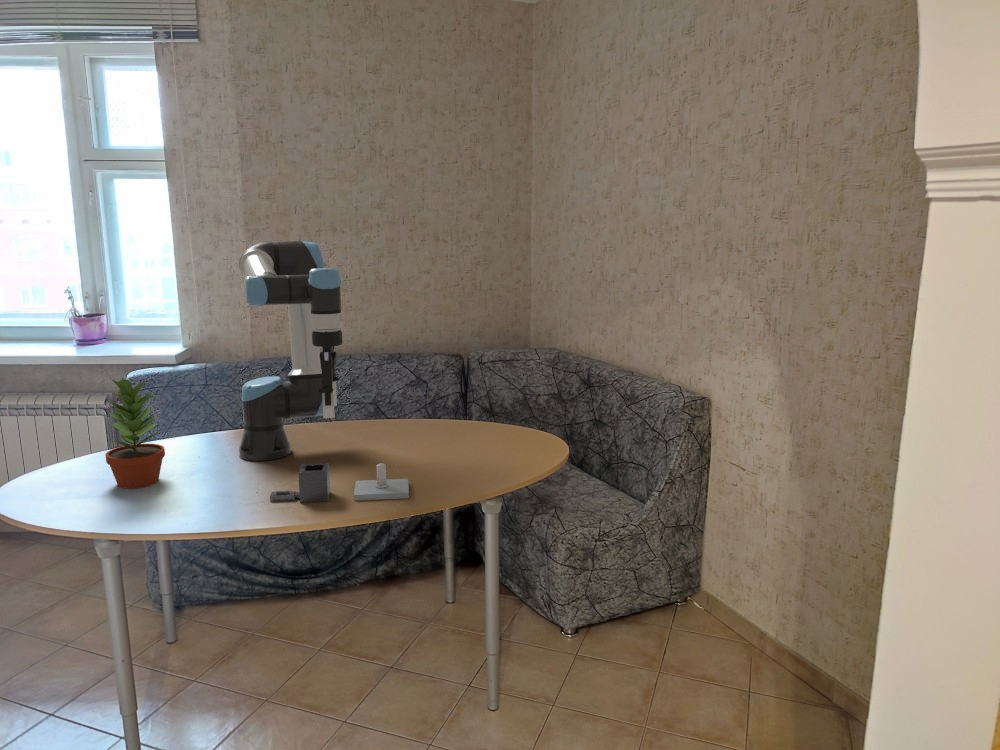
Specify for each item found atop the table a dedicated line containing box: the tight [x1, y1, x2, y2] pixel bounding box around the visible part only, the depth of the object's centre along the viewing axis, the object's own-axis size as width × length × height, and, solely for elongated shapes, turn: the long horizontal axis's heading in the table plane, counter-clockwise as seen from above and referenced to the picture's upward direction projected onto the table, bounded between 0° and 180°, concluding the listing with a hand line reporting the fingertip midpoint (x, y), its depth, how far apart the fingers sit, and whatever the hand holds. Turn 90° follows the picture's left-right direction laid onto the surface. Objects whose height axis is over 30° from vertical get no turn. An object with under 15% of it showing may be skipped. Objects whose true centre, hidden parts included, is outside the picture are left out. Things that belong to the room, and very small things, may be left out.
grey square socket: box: [269, 462, 331, 504], centre depth 195 cm, size 15×7×8 cm, turn 98°
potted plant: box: [105, 376, 166, 490], centre depth 204 cm, size 15×15×30 cm
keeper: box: [353, 462, 410, 501], centre depth 200 cm, size 14×11×8 cm
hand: (330, 411), depth 196 cm, fingers open, 13 cm apart
